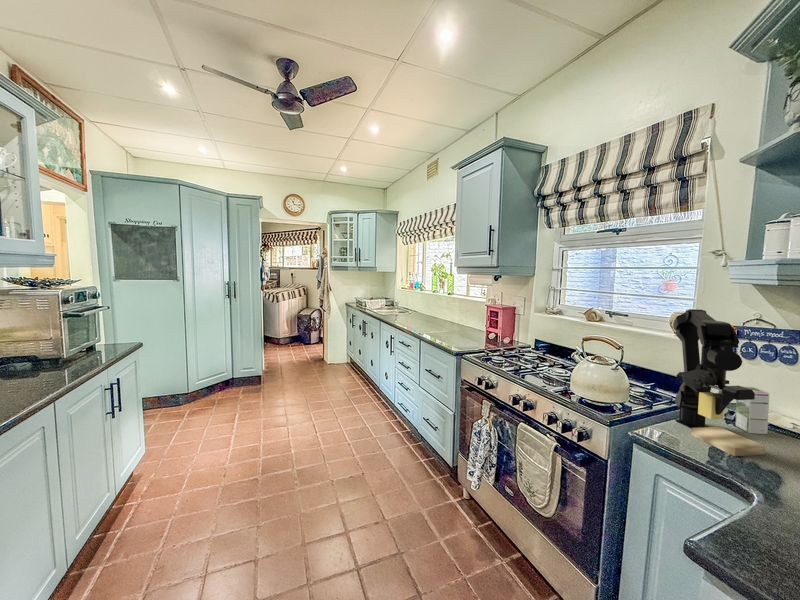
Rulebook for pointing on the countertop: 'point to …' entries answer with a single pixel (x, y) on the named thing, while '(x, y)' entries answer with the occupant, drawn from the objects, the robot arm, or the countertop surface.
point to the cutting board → (728, 441)
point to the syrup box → (753, 413)
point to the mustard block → (708, 406)
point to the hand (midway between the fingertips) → (710, 411)
